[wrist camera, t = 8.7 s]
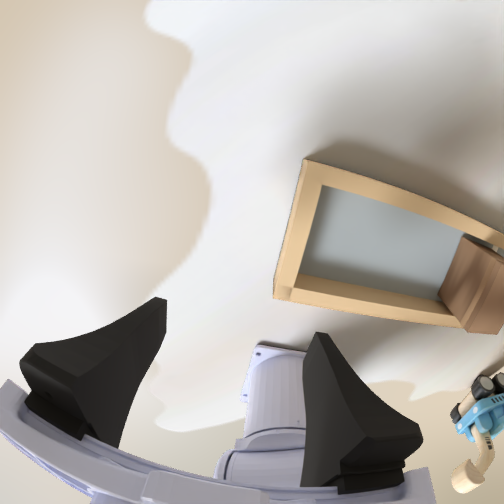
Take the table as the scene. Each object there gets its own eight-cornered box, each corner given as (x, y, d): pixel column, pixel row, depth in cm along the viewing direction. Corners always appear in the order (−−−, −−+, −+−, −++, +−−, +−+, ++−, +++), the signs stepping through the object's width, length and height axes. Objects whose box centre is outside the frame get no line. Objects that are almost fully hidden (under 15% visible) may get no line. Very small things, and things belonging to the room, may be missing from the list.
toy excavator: (447, 378, 26) (489, 476, 11) (506, 369, 26) (545, 437, 10) (418, 415, 30) (444, 505, 14) (480, 402, 29) (509, 469, 13)
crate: (467, 301, 21) (497, 335, 15) (436, 294, 21) (466, 332, 15) (491, 248, 19) (527, 275, 13) (461, 235, 19) (501, 263, 13)
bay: (473, 315, 22) (486, 330, 19) (273, 278, 22) (272, 298, 19) (508, 237, 18) (525, 247, 16) (303, 158, 18) (307, 161, 16)
